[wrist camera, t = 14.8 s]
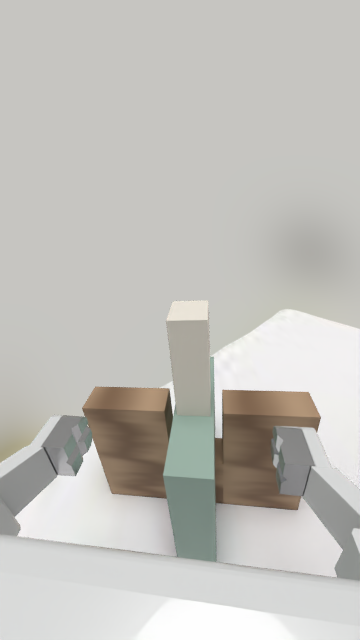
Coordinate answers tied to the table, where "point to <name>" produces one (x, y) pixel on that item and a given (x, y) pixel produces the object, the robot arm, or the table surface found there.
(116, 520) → the table surface
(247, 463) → the walnut slotted board
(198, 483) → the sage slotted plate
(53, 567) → the robot arm
